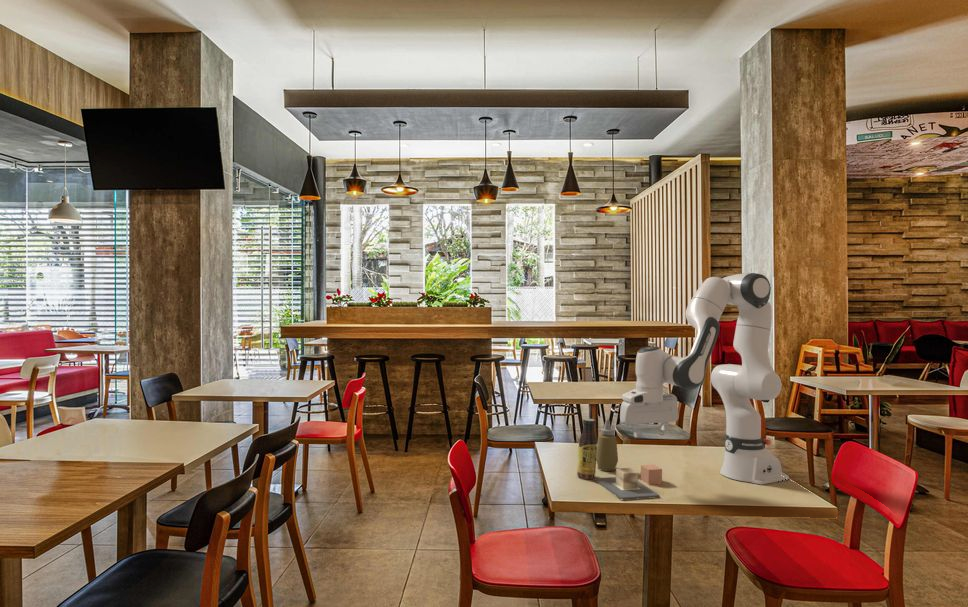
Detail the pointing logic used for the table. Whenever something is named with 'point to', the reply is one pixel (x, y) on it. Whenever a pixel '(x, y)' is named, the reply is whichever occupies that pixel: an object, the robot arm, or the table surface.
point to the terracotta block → (651, 474)
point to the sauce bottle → (587, 451)
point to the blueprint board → (626, 493)
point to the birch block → (626, 478)
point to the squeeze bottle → (607, 449)
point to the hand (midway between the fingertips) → (649, 436)
